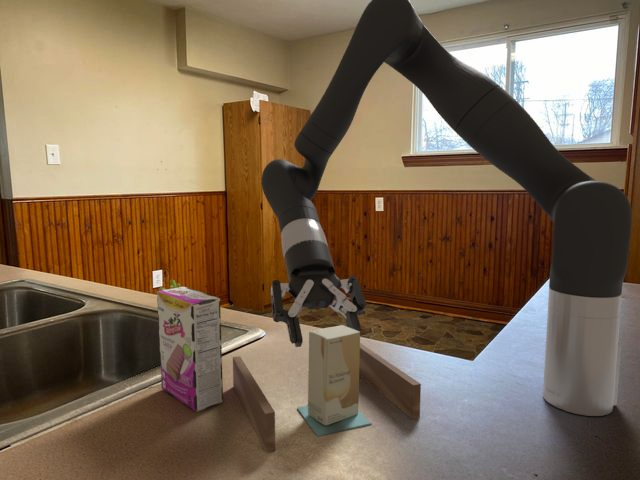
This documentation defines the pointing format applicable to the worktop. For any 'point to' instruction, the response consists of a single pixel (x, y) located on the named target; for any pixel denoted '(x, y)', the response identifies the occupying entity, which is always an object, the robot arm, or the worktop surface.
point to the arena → (263, 416)
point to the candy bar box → (190, 347)
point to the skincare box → (333, 374)
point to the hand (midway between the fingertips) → (328, 341)
